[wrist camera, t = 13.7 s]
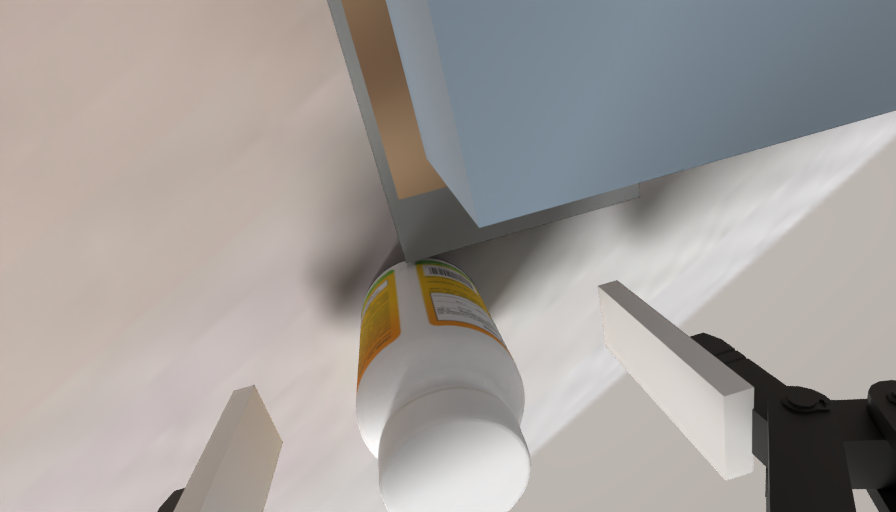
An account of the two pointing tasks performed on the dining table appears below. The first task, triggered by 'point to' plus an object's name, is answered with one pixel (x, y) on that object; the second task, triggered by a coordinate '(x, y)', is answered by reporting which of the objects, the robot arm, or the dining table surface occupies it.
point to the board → (439, 212)
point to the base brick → (390, 97)
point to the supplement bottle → (439, 394)
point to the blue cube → (628, 87)
